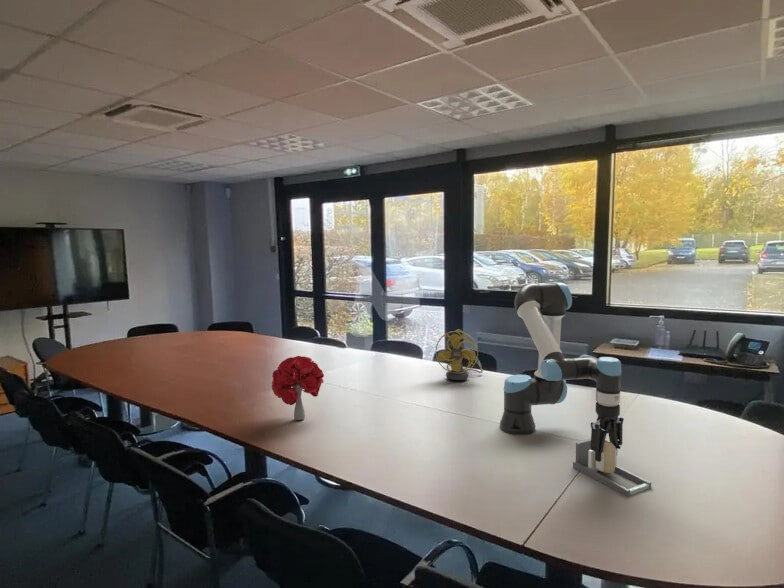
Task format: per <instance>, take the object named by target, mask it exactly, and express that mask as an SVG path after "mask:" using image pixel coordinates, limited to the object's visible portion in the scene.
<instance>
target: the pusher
mask: <svg viewBox="0 0 784 588" xmlns="http://www.w3.org/2000/svg"><path fill="white" fill-rule="evenodd" d="M587 467H588V468H590V469H591V470H593V471H595V472H597V473H598V472H599V471H600V470H598V469H597V468H596V460H595V451H593V450H589V452H588V465H587ZM600 472H601V471H600Z"/></svg>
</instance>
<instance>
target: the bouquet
mask: <svg viewBox="0 0 784 588" xmlns="http://www.w3.org/2000/svg"><path fill="white" fill-rule="evenodd" d="M324 377H325V374H324V372H323V369H321V368H320V367H319V366H318V363H316V362H315V361H314V360H313V359H312V358H311V357H307V356H301V355H297V356H290V357H287V358H285V359H284V360H283V361H281V363H279V364H278V366H277V369H275V370H273V372H272V381H271V389H272V392H273V394H274V395H275V396H276V397H277V398H278V399H281V401H282V402H283V403H284V404H285V405H289V406H294V410H293V419H294V420H296V421H300V420H304V419H305V418H306V412H305V408H304V405H303V401H302V392H303V393H306V394H309V395H311V396H313V397H315V398H317V397H318V396H319V392H320V389H321V387H322V384H323V383H324V379H323V378H324Z"/></svg>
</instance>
